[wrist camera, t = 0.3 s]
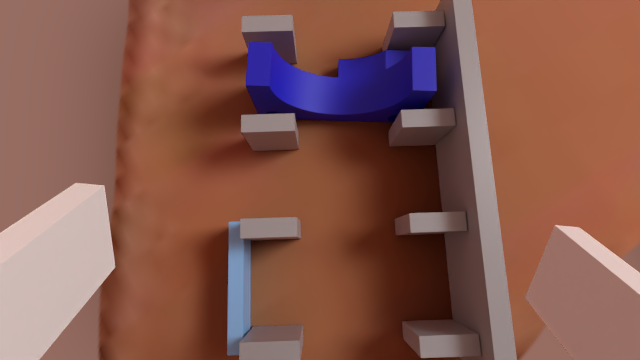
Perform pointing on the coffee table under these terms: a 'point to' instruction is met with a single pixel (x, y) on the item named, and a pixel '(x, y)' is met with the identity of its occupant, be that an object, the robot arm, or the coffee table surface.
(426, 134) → the grey peg rack
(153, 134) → the coffee table surface
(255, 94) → the blue curved block
